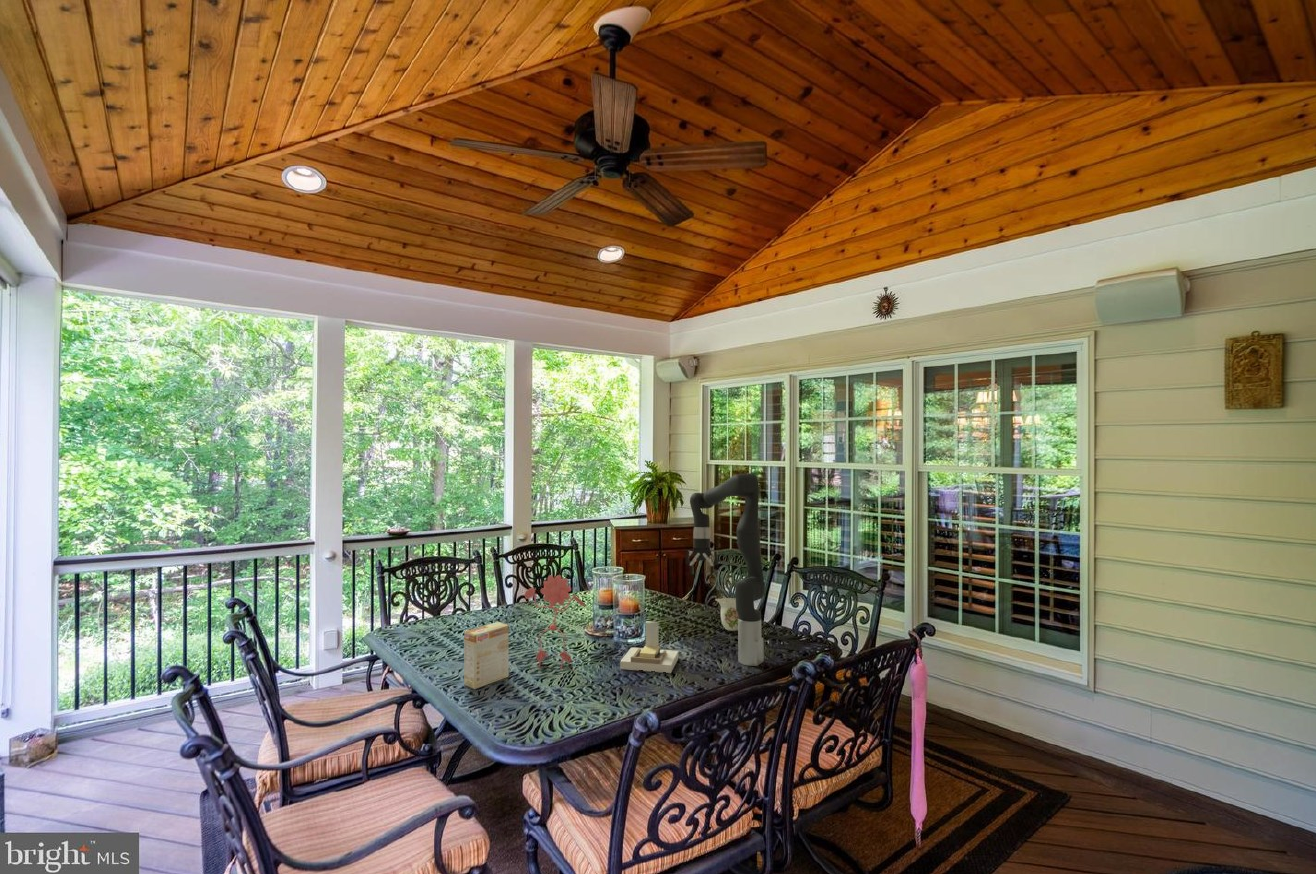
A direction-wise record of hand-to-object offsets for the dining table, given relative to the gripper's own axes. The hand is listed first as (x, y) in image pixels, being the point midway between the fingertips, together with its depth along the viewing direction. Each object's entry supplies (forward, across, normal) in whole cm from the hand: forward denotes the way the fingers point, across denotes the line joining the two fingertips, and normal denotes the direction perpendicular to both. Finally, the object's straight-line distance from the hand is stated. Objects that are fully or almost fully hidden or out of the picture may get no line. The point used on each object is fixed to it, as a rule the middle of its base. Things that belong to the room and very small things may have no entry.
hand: (701, 574), depth 259 cm
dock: (+33, -17, -26) cm, 46 cm away
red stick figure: (+33, -55, -32) cm, 72 cm away
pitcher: (+27, +12, +25) cm, 39 cm away
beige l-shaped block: (+30, -17, -28) cm, 44 cm away
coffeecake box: (+36, -73, -55) cm, 98 cm away
